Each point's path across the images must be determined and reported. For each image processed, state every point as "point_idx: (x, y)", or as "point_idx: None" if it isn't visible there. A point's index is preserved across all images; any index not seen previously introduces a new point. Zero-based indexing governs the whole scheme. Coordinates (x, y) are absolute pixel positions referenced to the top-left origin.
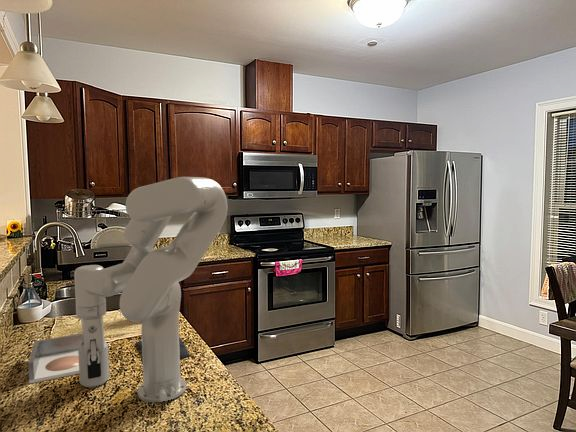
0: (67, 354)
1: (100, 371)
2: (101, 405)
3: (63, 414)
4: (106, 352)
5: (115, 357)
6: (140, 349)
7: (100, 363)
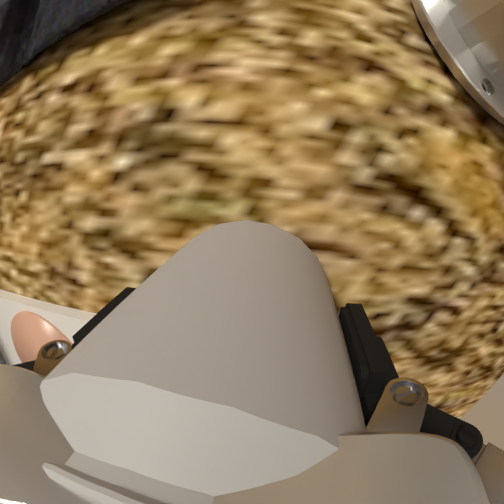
0: (5, 341)
1: (368, 323)
2: (491, 279)
3: (447, 389)
4: (296, 354)
5: (22, 178)
6: (15, 70)
7: (386, 364)
